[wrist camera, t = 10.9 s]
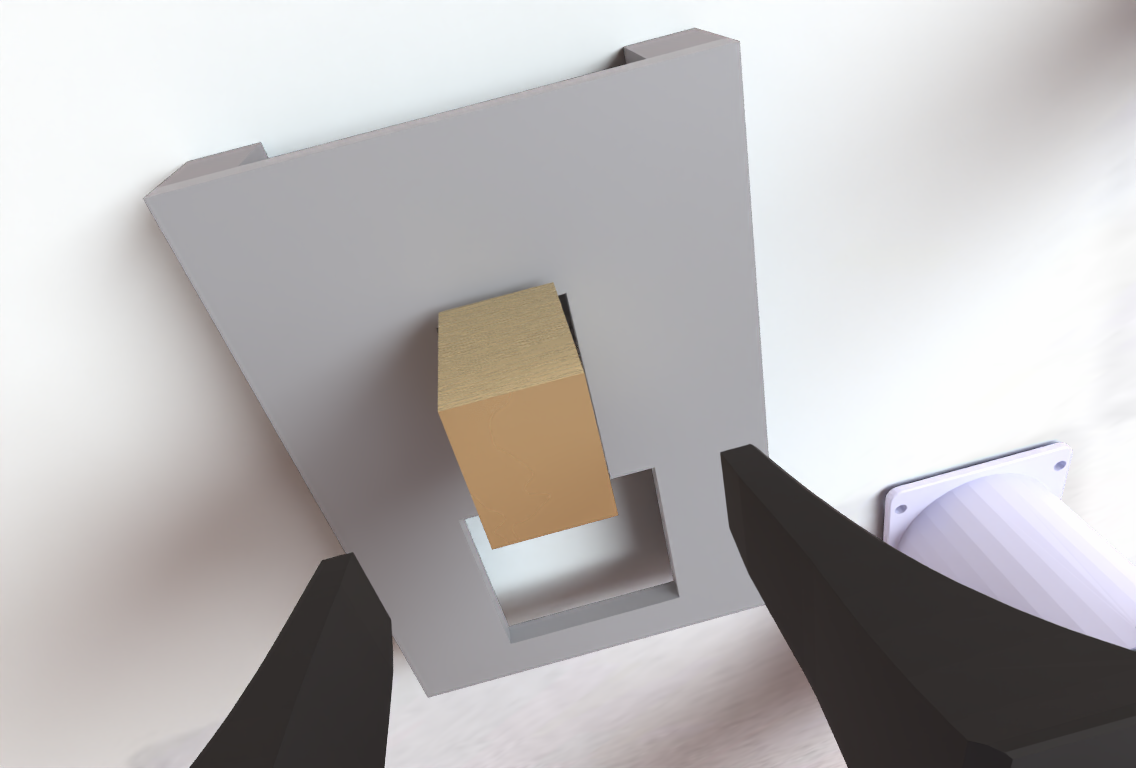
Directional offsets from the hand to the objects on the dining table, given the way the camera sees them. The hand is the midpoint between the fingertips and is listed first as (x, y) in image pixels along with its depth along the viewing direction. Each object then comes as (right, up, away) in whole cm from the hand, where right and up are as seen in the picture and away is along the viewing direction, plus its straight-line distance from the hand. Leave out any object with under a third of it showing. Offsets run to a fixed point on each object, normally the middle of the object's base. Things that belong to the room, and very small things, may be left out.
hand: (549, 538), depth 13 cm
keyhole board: (-1, +3, +11) cm, 11 cm away
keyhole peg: (-2, +6, +9) cm, 10 cm away
